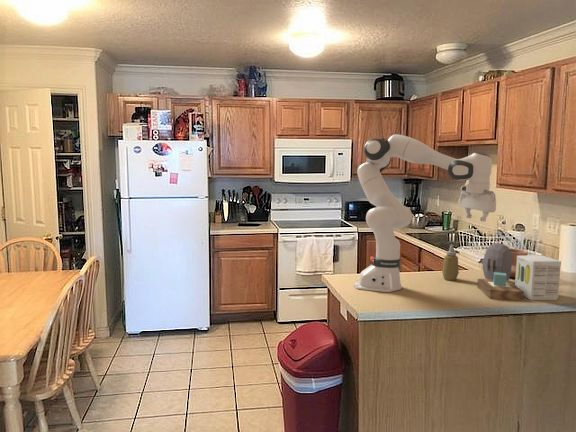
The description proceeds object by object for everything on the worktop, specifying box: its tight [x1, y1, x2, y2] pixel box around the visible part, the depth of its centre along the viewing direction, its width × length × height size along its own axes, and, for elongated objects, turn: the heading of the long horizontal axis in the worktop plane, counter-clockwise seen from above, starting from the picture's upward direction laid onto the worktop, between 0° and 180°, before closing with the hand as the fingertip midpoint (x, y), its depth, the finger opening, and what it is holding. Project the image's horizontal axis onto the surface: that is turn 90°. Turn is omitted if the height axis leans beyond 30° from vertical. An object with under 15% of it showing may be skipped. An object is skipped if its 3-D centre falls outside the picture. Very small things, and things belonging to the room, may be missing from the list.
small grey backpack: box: [482, 242, 512, 281], centre depth 238 cm, size 15×8×20 cm, turn 27°
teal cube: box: [493, 272, 507, 286], centre depth 217 cm, size 5×5×5 cm
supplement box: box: [514, 255, 562, 301], centre depth 213 cm, size 13×13×18 cm
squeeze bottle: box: [441, 244, 460, 281], centre depth 241 cm, size 8×8×18 cm
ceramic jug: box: [509, 248, 529, 279], centre depth 250 cm, size 18×14×14 cm
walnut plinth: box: [476, 278, 524, 301], centre depth 217 cm, size 14×20×4 cm
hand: (475, 219), depth 213 cm, fingers open, 8 cm apart
